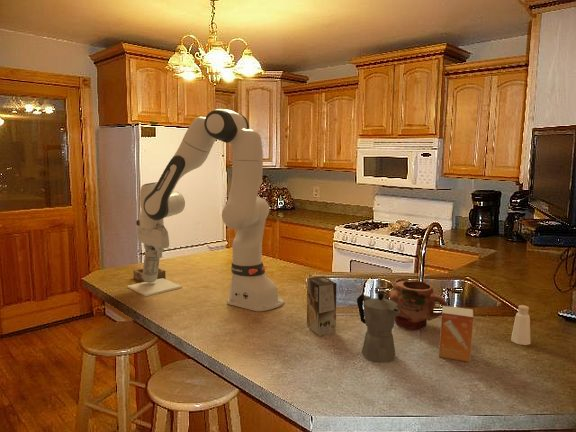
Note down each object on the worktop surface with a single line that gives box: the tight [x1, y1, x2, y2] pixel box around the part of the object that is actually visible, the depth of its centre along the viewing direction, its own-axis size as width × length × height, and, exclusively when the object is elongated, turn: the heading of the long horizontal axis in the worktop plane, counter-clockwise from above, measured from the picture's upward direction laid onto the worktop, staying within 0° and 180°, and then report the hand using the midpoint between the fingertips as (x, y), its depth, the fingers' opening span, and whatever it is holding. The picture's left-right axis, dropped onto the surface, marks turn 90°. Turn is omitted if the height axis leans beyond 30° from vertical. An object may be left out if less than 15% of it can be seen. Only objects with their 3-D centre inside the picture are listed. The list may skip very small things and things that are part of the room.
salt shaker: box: [510, 304, 531, 346], centre depth 130 cm, size 5×5×11 cm
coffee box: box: [306, 275, 337, 337], centre depth 138 cm, size 9×6×16 cm
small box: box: [438, 305, 474, 363], centre depth 121 cm, size 8×6×13 cm
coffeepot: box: [356, 292, 400, 363], centre depth 121 cm, size 15×9×18 cm, turn 35°
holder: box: [132, 268, 167, 283], centre depth 194 cm, size 10×10×4 cm
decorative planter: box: [388, 280, 448, 331], centre depth 141 cm, size 20×12×14 cm, turn 52°
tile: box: [127, 278, 183, 297], centre depth 181 cm, size 16×16×1 cm
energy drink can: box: [142, 245, 161, 283], centre depth 181 cm, size 6×6×15 cm
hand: (153, 255), depth 179 cm, fingers open, 8 cm apart
